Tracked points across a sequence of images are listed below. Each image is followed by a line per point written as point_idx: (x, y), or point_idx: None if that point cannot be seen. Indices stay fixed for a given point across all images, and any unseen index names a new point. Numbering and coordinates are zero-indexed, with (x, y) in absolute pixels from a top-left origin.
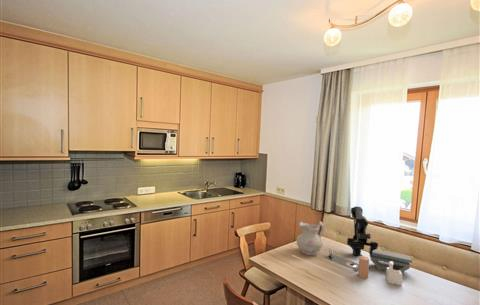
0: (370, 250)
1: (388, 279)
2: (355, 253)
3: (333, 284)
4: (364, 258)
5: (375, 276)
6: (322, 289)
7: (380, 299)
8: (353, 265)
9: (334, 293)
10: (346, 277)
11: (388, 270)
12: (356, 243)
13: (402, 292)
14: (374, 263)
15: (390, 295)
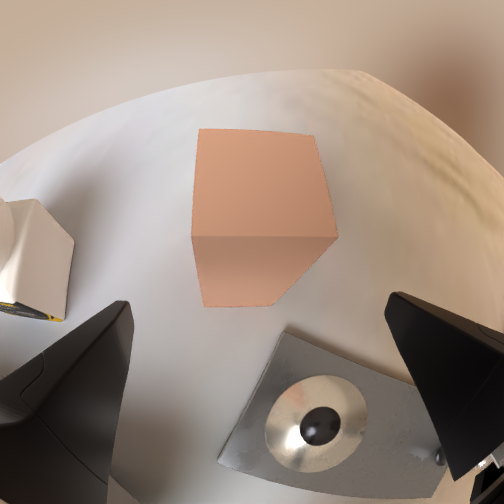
0: (72, 398)
1: (65, 238)
2: (398, 293)
3: (376, 132)
4: (259, 155)
5: (135, 312)
6: (390, 105)
7: (190, 87)
8: (310, 416)
9: (354, 90)
10: (345, 207)
11: (28, 227)
12: (498, 482)
13: (56, 170)
14: (112, 481)
15: (130, 121)
